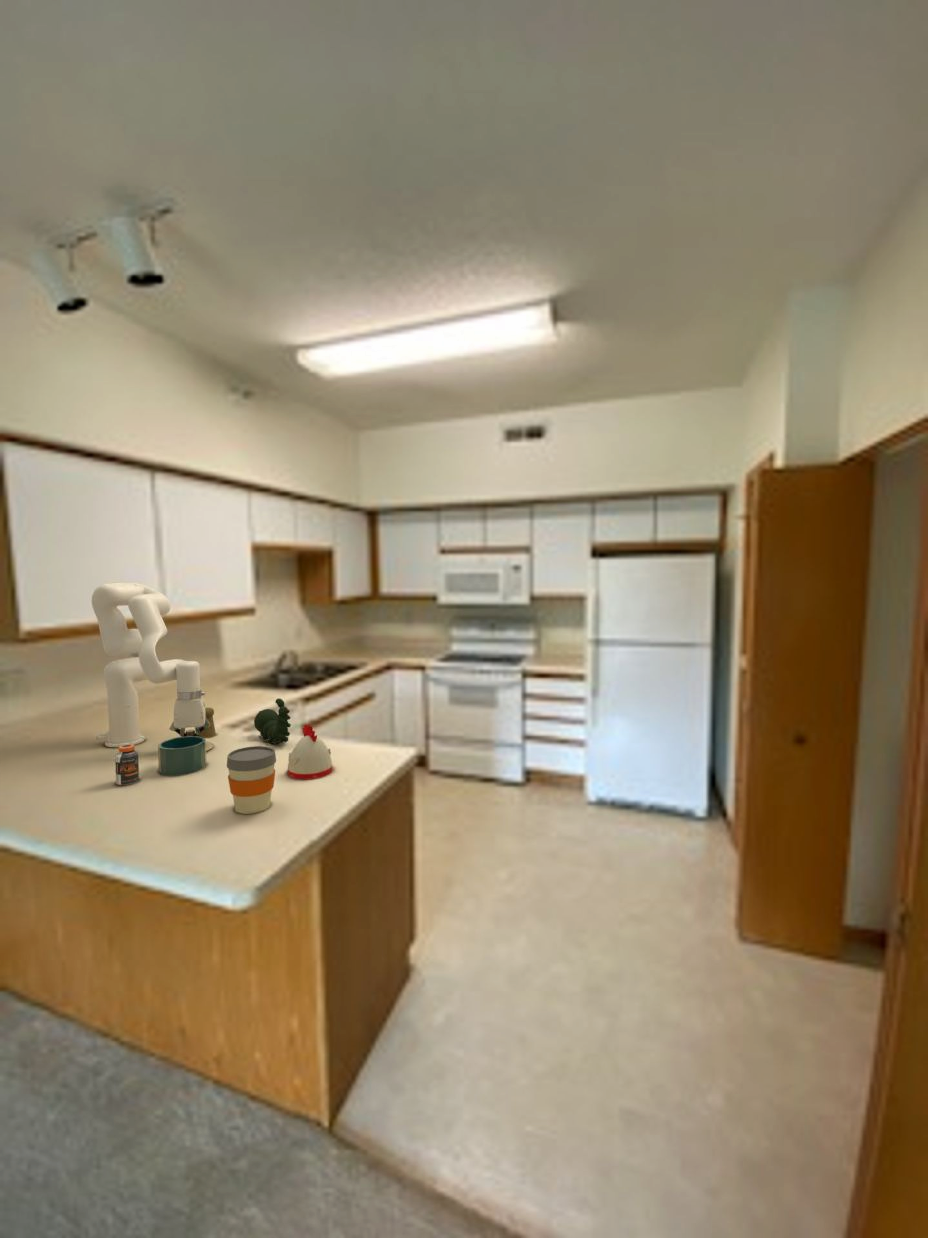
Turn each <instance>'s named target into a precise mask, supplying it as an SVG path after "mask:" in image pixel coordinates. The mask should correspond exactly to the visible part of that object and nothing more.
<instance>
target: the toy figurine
mask: <svg viewBox="0 0 928 1238" xmlns="http://www.w3.org/2000/svg"><path fill="white" fill-rule="evenodd" d="M274 702H275V704H276V705H277V707H278V711H277V712H276V711H275V710H274V709H271V708H265V709H262V710H259V711H258V712H257V713H256V715H255V717H254V719H253V725H254V728H255V730H256V731H258V733H259V734H260V736H261V740H263V741H266V742H267V744H268V745H272V744H274V745H277V744H279V743H281V742H284V743H287V742H289V736H290V735H291V733H290V731H289V728H291V726H292V724H291V723H290V722H289V720H290V719H291V716H290V715H289V714H290V712H291V711H290V709H288V706H287V707H286V706H285V701H284V700H283V699H282V698H276V699H275V701H274Z"/></svg>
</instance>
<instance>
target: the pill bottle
mask: <svg viewBox="0 0 928 1238" xmlns="http://www.w3.org/2000/svg"><path fill="white" fill-rule="evenodd" d="M135 749H136V748H135V745H133V744H126V745H122V746H119V747H118V753H116V755H115V756H114V758H115V759H114V760H115V783H116V784H117V785H119V786H129V785H132V784H135V783H137V782H138V781H139V780H140V767H139V766H140V764H139V763H140V761H139V752H138V751H137V750H135Z"/></svg>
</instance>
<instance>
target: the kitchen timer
mask: <svg viewBox="0 0 928 1238" xmlns="http://www.w3.org/2000/svg"><path fill="white" fill-rule="evenodd" d="M313 729H314V728H313V726H311V725H310V724H309V725H308V724H304V726H303V727H302V734H303V737H302V738H300V739H299V740H298V742H297V743H296V744H295V745H294V747H293V748H292V751H291V752H289V753H288V759H287V760H288V761H287V762H288V763H287V775H288V776H289V778H292V779H296V780H313V779H318V778H322V777H326V776H327V775H329V774H330V773H332V772H333V760H332V758H331V757H332V756H331V755H332V753H331V752H332V751H331V748H328V746H327V745H326V744H325V742H324V741H323V740H322V739H321V738H319V737H318V735H316V730H313Z"/></svg>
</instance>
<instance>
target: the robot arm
mask: <svg viewBox="0 0 928 1238" xmlns="http://www.w3.org/2000/svg"><path fill="white" fill-rule="evenodd" d="M91 606H92V609H93V612H94V615H95V617H96V619H97V623H98V629H99V633H100V638H101V644H102V647H103V651H104V652H105V654H106V655H107V656H109V657H121V656H126V655H127V656H128V655H129V656H130V657H126V658H119V659H115V660H113V661H110V662H109V663H107V664H106V665H105V666H104V669H103V673H102V674H103V679H104V683H105V687H106V693H107V710H108V731H107V732H106V733H96V734H95V739H96V740H98V741H102V740H105V741H104V746H105V747H108V748H119V746H122V745H126V744H133V745H134V746H135V745H139V744H141V743H143V742H145V739H146V738H145V736H144V735H142V734H141V733H140V708H139V694H138V691H137V689H136V688H135V686H134V685H133V684H134V683H138V682H143V681H146V680H148V681H149V682H150V683H152V684H156V685H158V684H164V683H169V682H173V681H176V699H175V701H174V706H173V721H172V722H171V725H170V727H169V730H170V731H172V732H175V733H176V734H178V735H179V737H186V728H188V729H189V728H194V730H195V736H198V737H199V734H200V733H201V732H202V731H203V730H204V729H206V728H208V727H209V726H210V723H209V722H208V720H207V719H206V711H205V708H206V703H205V699H204V697H203V696H206V691H202V688H201V666H200V665H201V664H200V663H199V662H198V661H195V660H184V659H180V658H173V659H168V660H167V659H166V660H162V661H160V660H159V658H158V656H157V652H156V647H157V644H158V642H159V640H161V639H163V638H164V637H165V636H166V635H167V634H168V628H167V627H166V624H165V621H164V619H163V617H162V616H166V615H167V614H168V613H169V612H170V611H171V602H170V600H169V599H168V597H167V596H166V595H165V594H163V593H162V592H160V591H158V590H155V589H153V588H152V587H149V586H148V585H145V584H143V583H140V582H107V583H104V584H100V585H99V586H97V587H96V588H95V589H94V591H93V592H92V595H91ZM119 606H120V607H121V606H123V607H124V606H128V610H129V612H130V614H131V617H132V619H133V622H134V623H135V627H136V628H128V625H127V620H126V617H125V615H124V614H123V612H122V611H121V610H120V609H119ZM204 724H205V725H204ZM200 726H202V727H200Z"/></svg>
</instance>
